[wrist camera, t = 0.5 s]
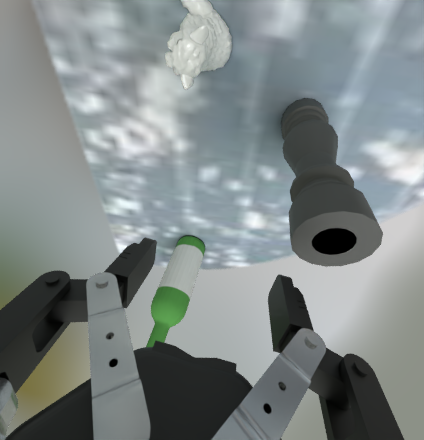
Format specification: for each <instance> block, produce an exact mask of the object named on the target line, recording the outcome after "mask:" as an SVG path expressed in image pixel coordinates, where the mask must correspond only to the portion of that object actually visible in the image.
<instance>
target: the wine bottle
mask: <svg viewBox="0 0 424 440" xmlns="http://www.w3.org/2000/svg"><path fill="white" fill-rule="evenodd" d="M204 252H205V246H204V244H203V242H202V241H201V240H199V239H198V238H196V237H192V236H185V237H183V238H181V239H180V240H179V241H178V243H177V246H176V248H175V250H174V252H173V254H172V257H171V259H170V261H169V264H168V266H167V268H166V271H165V273H164V276H163V277H162V280H161V282H160V284H159V287H158V289H157V292H156V294H155V296H154V298H153V301H152V305H151V314H152V317H153V319H154V321H155V325H154V328H153V331H152V333H151V336H150V338H149V341H148V343H147V346H146V347H153V345H154V343H155V340H156V341H160V342H163V343H164V341H165V338H166V336H167V333H168V330H169V328H170V327H172V326H175V325H176V324H178V323H179V322H180V321H181V320H182V319H183V317H184V315H185V313H186V310H187V307H188V304H189V301H190V298H191V294H192V291H193V288H194V285H195V281H196V278H197V275H198V272H199V269H200V265H201V262H202V259H203V255H204Z"/></svg>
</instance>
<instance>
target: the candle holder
mask: <svg viewBox="0 0 424 440" xmlns="http://www.w3.org/2000/svg"><path fill="white" fill-rule="evenodd" d="M281 128H282V136H283V139H284V144H283V154H284V158H285V160H286V161H287V163H288V164H289V166H290V167H291V169H292V170H293V172H294V173H295V175H296V178H295V179H294V180H293V183H292V186H291V189H290V195H291V201H292V202H293V203H292V205H291V208H290V211H289V223H290V238H291V245H292V250H293V251H294V252H295V253H296V254H297V255H298V257H299V258H301V259H303V260H305V261H307V262H309V263H311V264H316V265H322V266H343V265H347V264H351V263H355V262H358V261H360V260H362V259H364V258H366V257H368V256H370V255H372V254H373V252H374V251H375V250H376V249H377V248H378V247H379V246H380V245H381V241H382V235H383V232H382V230H381V228H380V226H379V224H378V222H377V220H376V218H375V216H374V214H373V212H372V210H371V208H370V206H369V204H368V202H367V200H366V198H365V197H364V195H363V193H362V192H360V191H359V190H357V189H355V188H354V181H353V179H352V177H351V176H350V174H349V172H348V171H347V170H345V169H343V168H342V167H340V166H338V165H336V156H337V148H338V136H337V134H336V132H335V131H334V129H333V127H332V126H331V125H329V124H328V116H327V114H326V112H325V110H324V109H323V107H322V105H321V103H319V102H318V101H316V100H315V99H309V98H304V99H301V100H297V101H295V102H294V103H293V104H291V105H290V106H289V107H288V108H287V109H286V111H285V112H284V114H283V117H282V121H281Z"/></svg>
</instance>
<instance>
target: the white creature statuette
mask: <svg viewBox="0 0 424 440" xmlns="http://www.w3.org/2000/svg"><path fill="white" fill-rule="evenodd" d="M181 2H182V4H183V7H186V8H187V9H188V10H189V11H190V13H187V16H186V17H185V18H184V20H183V22H182V23H181V24H180V31H178V32H174V33H173V34H172V35H171V37H170V40H169V41H168V42H167V44H168V47H169V49H171V50H172V51H168V52H167V53H166V54H165V59H166V61H167V62H166V64H167V66H168V67H171V68H173V70H174V73H175V74H176V75H177V76H178V75H181V81H182V85H183V87H184V89H185V90H187V89H189V88H190V87H191V86H193V83H194V79H193V77H197V76H198V74H199V73H200V72H201V71H206V70H207V71H211V70H214V71H215V70H216V69H217V68H221V67H223V66H224V64H225V63H226V62H227V61H228V59H229V58H230V53H231V51H232V50H231V48H232V43H231V39H232V36H231V35H230V34H229V28H228V27H227V25H226V23H225V22H224V20H223V19H221V17H220V15H219V13H217V11H216V10H214V9H213V7H212V4H211V3H210V2H209V1H208V0H181Z"/></svg>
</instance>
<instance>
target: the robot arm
mask: <svg viewBox="0 0 424 440" xmlns="http://www.w3.org/2000/svg"><path fill="white" fill-rule="evenodd" d="M156 244H157V241H156V240H152V239H149V238H144V239H143V240H142V241H141V242H140V244H137V243H133V244H131V245H129V246H127V247H126V249H125V250H124V251H123V252H122V253H121V254H120V255H119V257H118V258H116V260H115V261H114V262H113V263H112V264H111V265H110V266H109V267H108V268H107V269H106V271H105V272H103V273H98V274H95V275H93V276H91V277H90V278H89V279H86V280H80V279H79V280H78V279H70V276H69V274H67V273H66V272H64V271H51V272H48V273H45V274H43V275H41V276H40V277H39V278H38V279H36V280H35V281H34V282H33V283H32V284H31V285H29V286H28V287H27V288H26V289H25V290H24V291H22V292H21V293H20V294H19V295H18V296H16V297H15V298H14V299H13V300H12V301H11V302H9V303H8V304H7V305H6V306H5V307H4V308H2V309H1V310H0V440H282V439H281V437H282V435H283V433H284V431H285V429H286V428H287V426H288V424H289V422H290V420H291V418H292V416H293V415H294V413H295V411H296V409H297V407H298V405H299V403H300V402H301V400H302V398H303V396H304V394H305V393H306V391H307V389H308V388H309V389H311V390H312V391H314V392H315V393H317V394H318V395H319V399H320V404H321V409H322V414H323V419H324V424H325V429H326V433H327V439H328V440H404V438H403V436H402V434H401V431H400V429H399V427H398V425H397V422H396V420H395V418H394V415H393V413H392V411H391V409H390V406H389V404H388V402H387V399H386V397H385V395H384V393H383V391H382V388H381V386H380V384H379V382H378V379H377V377H376V375H375V373H374V371H373V369H372V368H371V367H370V366H369V364H368V363H367V362H366V361H364V360H363V359H362V358H360V357H359V356H357V355H354V354H346V355H345V356H344V357H341V356H339V355H338V354H336V353H334V352H332V351H331V350H329V349H328V348H326V346H325V343H324V341H323V340H322V338H321V337H320V336H319V335H318V334H317V333H315V332H314V330H313V327H312V324H311V320H310V317H309V314H308V310H307V307H306V304H305V301H304V298H303V295H302V294H301V292H300V291H299V289H298V288H296V287H294V286H293V282H292V279H291V278H290V277H286V276H282V275H278V276H277V277H276V280H275V282H274V284H273V286H272V288H271V290H270V292H269V296H268V305H269V315H270V324H271V333H272V343H273V351H275V352H278V353H280V354H279V355H278V357H277V358H276V359H275V360H274V362H273V363H272V364H271V365H270V367H269V368H268V369H267V371H266V372H265V373H264V374H263V376H262V377H261V378H260V379H259V381H258V382H257V383H256V384H255V386H254V387H252V386H251V385H250V383H249V382H248V381H247V380H246V379H245V378H244V377H243V376H242V375H240V374H239V373H238V372H236V364H235V363H232V362H228V361H225V360H222V359H218V358H195V357H192V356H191V355H189V354H187V353H186V352H184V351H183V350H181V349H179V348H177V347H176V346H173V345H170V344H166V343H163V342H160V341H156V340H155V343H154V345H153V347H145V348H140V349H137V350H134V351H133V346H132V342H131V336H130V332H129V327H128V322H127V318H126V313H125V309H124V308H127V307H128V305H129V304H130V302H131V301H132V299H133V297H134V295H135V294H136V293H137V291H138V289H139V288H140V286H141V285H142V283H143V281H144V280H145V278H146V277H147V275H148V273H149V272H150V270H151V269H152V267H153V264H154V261H155V253H156ZM70 322H88V331H89V349H90V370H91V378H90V379H89V380H87V381H86V382H84V383H83V384H81V385H80V386H78V387H77V388H75V389H74V390H72V391H71V392H69V393H68V394H66V395H65V396H63V397H62V398H60V399H59V400H57V401H56V402H54V403H53V404H51V405H50V406H48V407H47V408H45V409H44V410H42V411H41V412H39V413H38V414H36V415H35V416H33V417H32V418H30V419H28V420H27V421H25V422H24V423H23V424H21V425H20V426H19V427H17V428H16V429H15V430H14V431H13V432H12V433H11V434H10V435H8V437H6V432H7V428H8V426H9V423H10V421H11V420H12V418H13V417H14V415H15V413H16V411H17V407H18V399H17V397H16V392H17V391H18V390H19V388H20V387H21V386H22V385H23V383H24V382H25V381H26V379H27V378H28V377H29V376H30V374H31V373H32V372H33V370H34V369H35V368H36V366H37V365H38V364H39V363H40V361H41V360H42V359H43V357H44V356H45V355H46V353H47V352H48V351H49V350H50V348H51V347H52V346H53V344H54V343H55V342H56V340H57V339H58V338H59V337H60V335H61V334H62V333H63V331H64V330H65V329H66V328H67V326H68V325H69V324H70Z"/></svg>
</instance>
